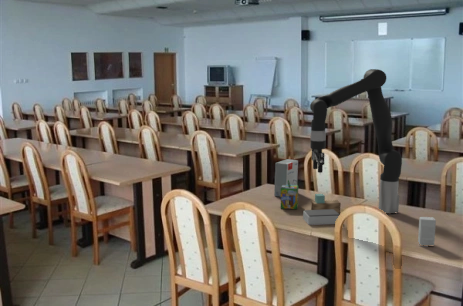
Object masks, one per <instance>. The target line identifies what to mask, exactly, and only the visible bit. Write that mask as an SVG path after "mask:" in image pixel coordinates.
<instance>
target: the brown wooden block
mask: <svg viewBox="0 0 463 306" xmlns="http://www.w3.org/2000/svg"><path fill="white" fill-rule="evenodd" d="M310 208H311V209H310V210H326V209H334V210H335V211H336V212H337V213H338V214H339V213H340V214H341V202H340V201H339V200H338V199H335V200H325V203H316V202H315V200H311V206H310Z"/></svg>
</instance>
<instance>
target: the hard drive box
mask: <svg viewBox="0 0 463 306" xmlns="http://www.w3.org/2000/svg"><path fill="white" fill-rule="evenodd" d="M274 168H275V169H274V170H275V171H274V172H275V173H274V191H273V195H274V196H275V197H280V198H281V187H282V185H288V180H289V183H290V185H298V174H299V173H298V170H299V160H296V159H289V158H287V159H283V160H281V161H278V162H275V166H274Z"/></svg>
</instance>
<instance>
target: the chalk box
mask: <svg viewBox="0 0 463 306" xmlns="http://www.w3.org/2000/svg"><path fill="white" fill-rule="evenodd" d="M298 207H299V185H298V184H297V185H290V183H289V180H288V185H282V187H281V197H280V209H281V210H284V209H285V210H288V209H289V210H298Z"/></svg>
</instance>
